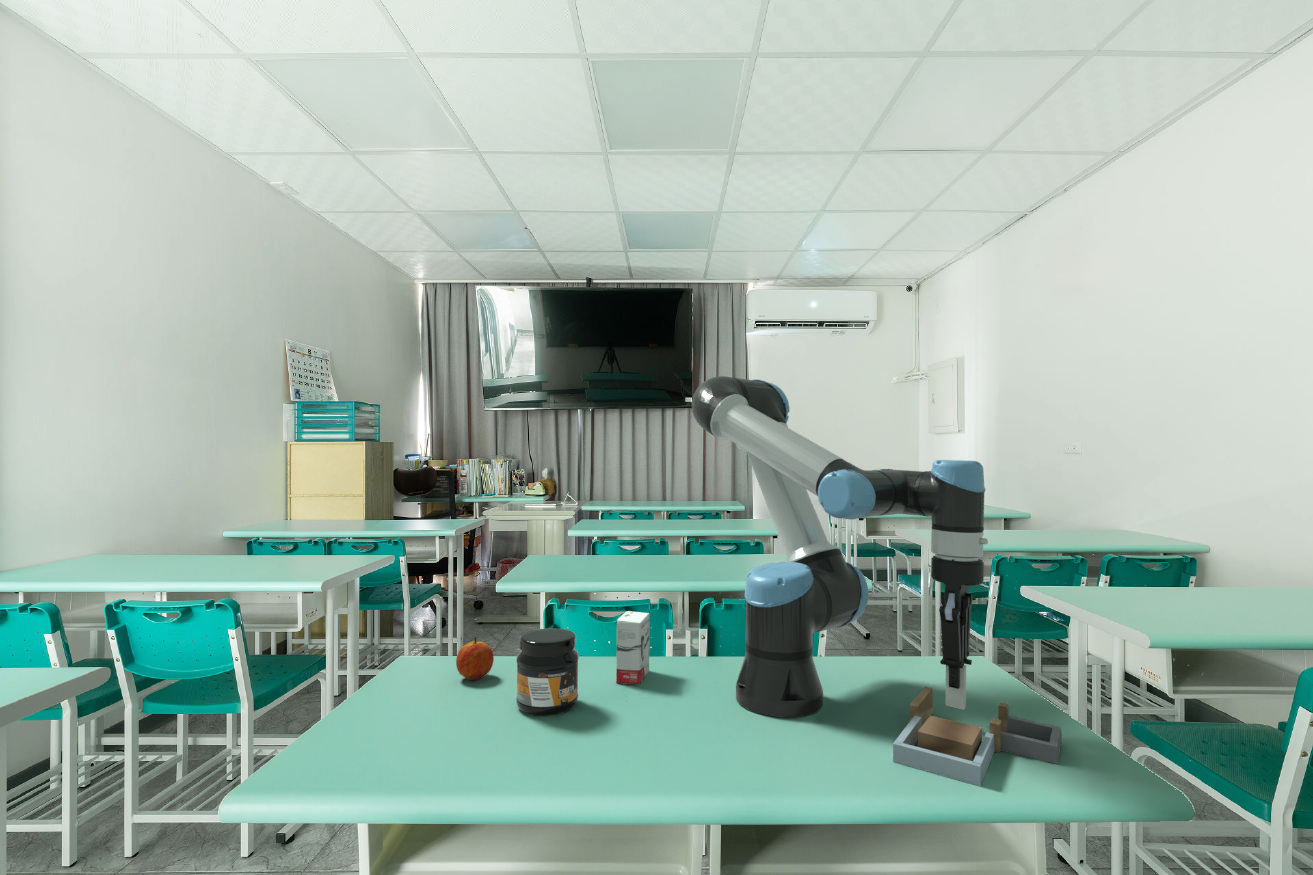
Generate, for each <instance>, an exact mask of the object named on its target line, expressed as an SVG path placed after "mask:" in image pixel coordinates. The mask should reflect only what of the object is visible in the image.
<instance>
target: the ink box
mask: <svg viewBox="0 0 1313 875" xmlns="http://www.w3.org/2000/svg"><path fill="white" fill-rule="evenodd" d="M616 621H617V622H616V667H615V668H616V670H615V672H616V678H615V679H616V680H615V681H616V684H624V685H625V684H626V685H627V684H629V685H639V686H640V685H641V683H642V682H643V681H644V679H645V678H646V677H647V674H648V673H649V671H650V613H649V612H639V611H631V610H628V611H627V610H626V611H625V612H624V613H623V614H622V615H620V616H619V617H618V619H616Z"/></svg>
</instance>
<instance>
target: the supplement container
mask: <svg viewBox="0 0 1313 875" xmlns="http://www.w3.org/2000/svg"><path fill="white" fill-rule="evenodd" d="M576 646H577V635H576V633H575V632H574V631H572V630H569V629H564V628H538V629H533V630H530V631H526V632H524V633H523V634H521V635H520V637H519V649H520V651H519V652H518V654H517V656H516V664H517V665H516V666H517V667H516V668H517V670H516V672H517V674H516V675H517V676H516V698H515V699H516V702H515V703H516V706H517V707H518V709H519V710H520V711H521V712H523V713H525V714H526V715H530V716H536V717H549V716H557V715H561V714H563V713H567V712H568V711H570V710H571V709H573V708H574V707H575V706H576V705H577V703H578V700H579V693H578V690H579V689H578V688H579V686H578V682H579V679H578V678H579V677H578V676H579V671H578V670H579V668H578V667H579V666H578V665H579V659H580V658H579V657H580V656H579V652H578V650H577V649H575V647H576Z"/></svg>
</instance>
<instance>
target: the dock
mask: <svg viewBox="0 0 1313 875" xmlns="http://www.w3.org/2000/svg"><path fill="white" fill-rule="evenodd" d="M921 727H922V723H921V717H918V716H914V717H913V718H912V720H911V721H910V720H909V722H908V723H907V725H906V726H905V727H904V728H903V730H902V731H901V732H900V734H899V735H898V736H897V738H895V741H894V742H892V762H893V763H895V764H899V765H900V764H901V765H904V766H907V767H911V768H915V769H917V770H922V771H925V772H928V773H932V774H936V775H939V776H943V777H945V778H946V777H947V778H949V779H953V780H957V781H961V782H965V783H968V784H971V785H975V786H978V787H981V786H982V783H983V781H984V778H985V776H986V774H987V772H988V768H989V765H990V763H991V761H992V758H993V755H994V753H995V752H994V734H991V733H990V732H987V731H986V732H985V734H984V737H983V738H982V743H981V745H980V747H979V749H978V752H977V754H976V756H975V758H974V760H973V761H969V760H966V759H962V758H958V757H954V756H950V755H946V754H943V753H939V752H935V751H931V750H927V749H923V748H920V747H918V746H915V744H916V742H918V731H919V729H920V728H921Z"/></svg>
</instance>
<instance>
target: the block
mask: <svg viewBox="0 0 1313 875" xmlns="http://www.w3.org/2000/svg"><path fill="white" fill-rule="evenodd" d="M982 730H983V729H982V727H981V726H976V725H971V724H968V723H964V722H959V721H954V720H951V719H947V718H943V717H940V716H935V715H932V714H931V715H930V717H929V718H928V719H927V720H926V722H925V723H924V724H923V726H922V727H921V728H920V729H919V731H918V739H917V747H920V748H923V749H927V750H931V751H935V752H939V753H943V754H946V755H950V756H954V757H958V758H962V759H966V760H969V761H973V760H974V758H975V756H976V754H977V752H978V749H979V747H980V745H981V743H982V741H983V733H982V732H983V731H982Z"/></svg>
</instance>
